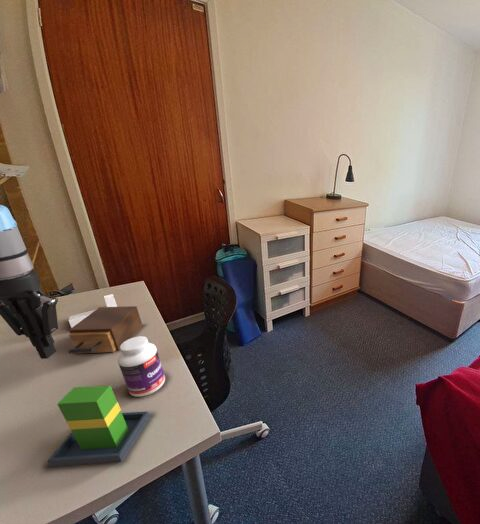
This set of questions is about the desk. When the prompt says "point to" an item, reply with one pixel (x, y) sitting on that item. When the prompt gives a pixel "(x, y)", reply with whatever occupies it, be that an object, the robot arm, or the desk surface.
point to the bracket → (79, 317)
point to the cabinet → (112, 323)
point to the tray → (74, 455)
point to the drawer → (92, 342)
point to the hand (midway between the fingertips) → (48, 354)
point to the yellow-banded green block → (94, 417)
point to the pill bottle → (140, 366)
